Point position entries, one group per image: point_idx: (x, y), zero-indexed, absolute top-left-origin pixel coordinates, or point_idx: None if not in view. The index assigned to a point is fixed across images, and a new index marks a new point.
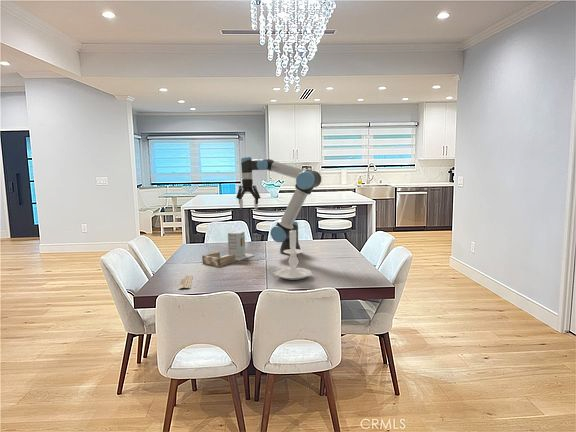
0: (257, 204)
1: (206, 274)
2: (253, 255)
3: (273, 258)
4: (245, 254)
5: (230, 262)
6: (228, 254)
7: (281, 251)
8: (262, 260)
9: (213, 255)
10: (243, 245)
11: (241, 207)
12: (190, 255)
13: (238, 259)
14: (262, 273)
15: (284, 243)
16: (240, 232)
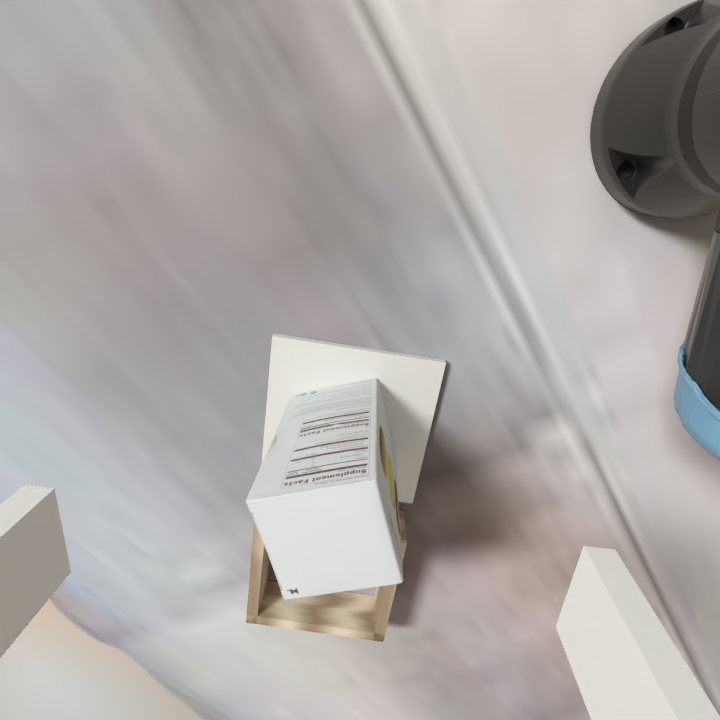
0: (685, 668)
1: (413, 701)
2: (443, 370)
3: (607, 368)
4: (377, 374)
5: None
6: (267, 416)
7: (627, 203)
8: (553, 437)
9: (265, 554)
10: (386, 442)
11: (51, 554)
12: None
13: (411, 495)
14: None
15: (706, 194)
16: (377, 543)
